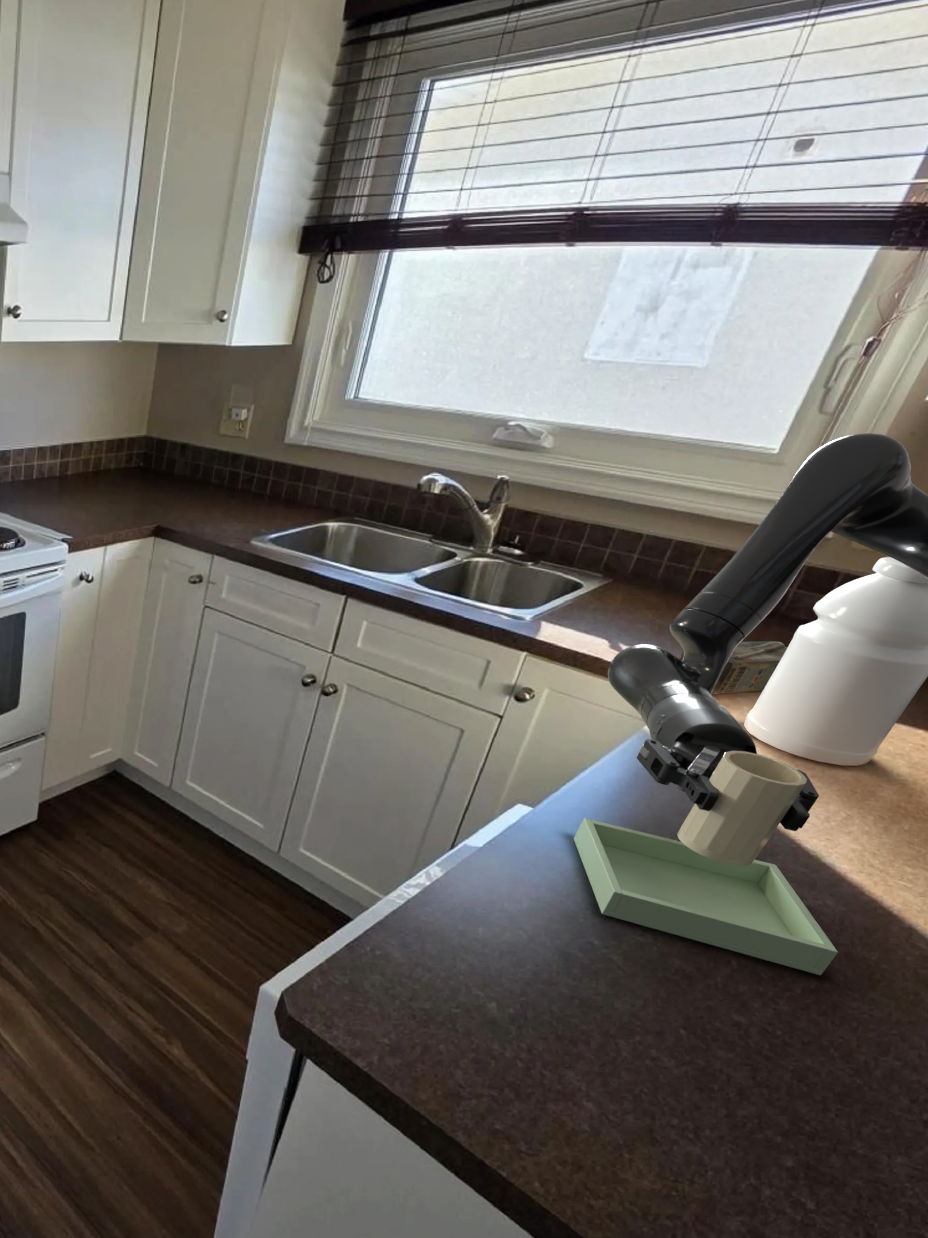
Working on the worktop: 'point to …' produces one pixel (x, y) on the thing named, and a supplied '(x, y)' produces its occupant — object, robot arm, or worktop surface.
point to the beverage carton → (749, 667)
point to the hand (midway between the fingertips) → (752, 812)
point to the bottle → (849, 669)
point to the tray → (700, 896)
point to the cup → (742, 808)
